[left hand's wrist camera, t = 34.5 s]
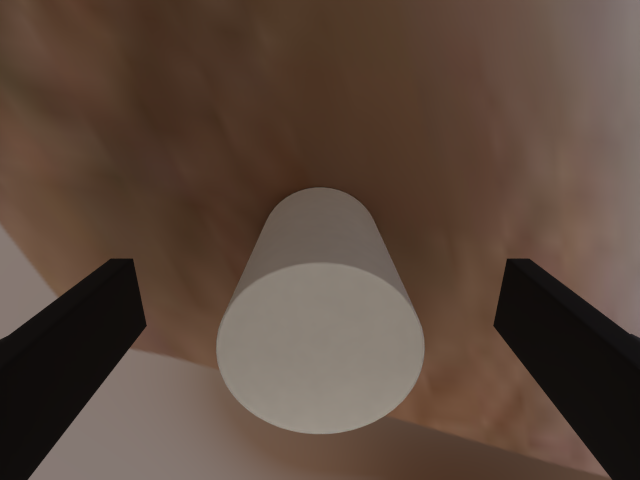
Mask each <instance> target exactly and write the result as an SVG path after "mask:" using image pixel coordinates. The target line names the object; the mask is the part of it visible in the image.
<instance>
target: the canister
mask: <svg viewBox="0 0 640 480" xmlns="http://www.w3.org/2000/svg"><path fill="white" fill-rule="evenodd" d="M424 351H425V346H424V335H423V331H422V327H421V324H420V321H419V319H418V316H417V314H416V312H415V310H414V307H413V305H412V303H411V301H410V299H409V296H408V294H407V292H406V290H405V288H404V285H403V283H402V281H401V279H400V277H399V274H398V272H397V270H396V268H395V266H394V264H393V261H392V259H391V257H390V255H389V253H388V250H387V248H386V246H385V244H384V242H383V239H382V237H381V235H380V233H379V231H378V228H377V226H376V224H375V222H374V220H373V218H372V216H371V214H370V213H369V211H368V210H367V209H366V208H365V206H364V205H363V204H362V203H361V202H359V201H358V200H357V199H355V198H354V197H352V196H351V195H349V194H347V193H345V192H342V191H340V190H336V189H332V188H325V187H315V188H308V189H304V190H301V191H298V192H296V193H293V194H291V195H290V196H288V197H286V198H285V199H284V200H282V201H281V202H280V203H279V204H278V205H277V206H276V207H275V208H274V209H273V211H272V212H271V213H270V215H269V217H268V219H267V220H266V223H265V225H264V227H263V229H262V231H261V234H260V236H259V238H258V240H257V242H256V245H255V247H254V249H253V251H252V254H251V256H250V258H249V260H248V262H247V265H246V267H245V269H244V271H243V273H242V276H241V278H240V280H239V282H238V285H237V287H236V289H235V291H234V293H233V296H232V298H231V300H230V302H229V304H228V307H227V309H226V311H225V313H224V316H223V318H222V321H221V323H220V326H219V329H218V334H217V340H216V354H217V362H218V366H219V369H220V372H221V375H222V377H223V379H224V382H225V384H226V386H227V387H228V389H229V390H230V392H231V393H232V394H233V396H234V397H235V398H236V399H237V400H238V401H239V403H241V404H242V405H243V406H244V407H245V408H246V409H247V410H249V411H250V412H251V413H253V414H254V415H256V416H257V417H259V418H261V419H262V420H264V421H266V422H268V423H270V424H273V425H275V426H278V427H280V428H284V429H287V430H290V431H296V432H301V433H310V434H331V433H340V432H345V431H350V430H354V429H357V428H360V427H363V426H365V425H368V424H370V423H373V422H375V421H376V420H378V419H380V418H382V417H383V416H385V415H386V414H388V413H389V412H391V411H392V410H393V409H395V408H396V407H397V406H398V405H399V404H400V403H401V402H402V401H403V400H404V399H405V397H406V396H407V395H408V394H409V393H410V391H411V390H412V388H413V386H414V385H415V383H416V381H417V379H418V377H419V374H420V372H421V368H422V364H423V360H424Z"/></svg>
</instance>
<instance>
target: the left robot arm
mask: <svg viewBox="0 0 640 480" xmlns="http://www.w3.org/2000/svg"><path fill="white" fill-rule="evenodd" d="M146 326H147V325H146V320H145V315H144V311H143V306H142V301H141V296H140V291H139V286H138V281H137V276H136V272H135V267H134V262H133V259H110V260H108V261H107V262H106V263H104V264H103V265H102V266H100V267H99V268H98V269H96V270H95V271H94V272H92V273H91V274H90V275H88V276H87V277H86V278H84V279H83V280H82V281H80V282H79V283H78V284H76V285H75V286H74V287H72V288H71V289H70V290H68V291H67V292H66V293H64V294H63V295H62V296H60V297H59V298H58V299H56V300H55V301H54V302H52V303H51V304H50V305H48V306H47V307H46V308H44V309H43V310H42V311H41V312H39V313H38V314H37V315H35V316H34V317H32V318H31V319H30V320H29V321H27V322H26V323H24V324H23V325H22V326H21V327H19V328H18V329H17V330H15V331H14V332H13V333H11V334H10V335H8V336H6V337H4V338H2V339H0V480H28V479H29V477H30V476H31V475H32V473H33V472H34V471H35V470H36V468H37V467H38V466H39V464H40V463H41V462H42V460H43V459H44V458H45V457H46V455H47V454H48V453H49V451H50V450H51V449H52V447H53V446H54V445H55V444H56V442H57V441H58V440H59V439H60V437H61V436H62V435H63V433H64V432H65V431H66V429H67V428H68V427H69V426H70V424H71V423H72V422H73V420H74V419H75V418H76V416H77V415H78V414H79V413H80V411H81V410H82V409H83V407H84V406H85V405H86V403H87V402H88V401H89V400H90V398H91V397H92V396H93V395H94V393H95V392H96V391H97V389H98V388H99V387H100V385H101V384H102V383H103V382H104V380H105V379H106V378H107V376H108V375H109V374H110V372H111V371H112V370H113V369H114V367H115V366H116V365H117V363H118V362H119V361H120V360H121V358H122V357H123V356H124V354H125V353H126V352H127V351H128V349H129V348H130V347H131V345H132V344H133V343H134V342H135V340H136V339H137V338H138V336H139V335H140V334H141V332H142V331H143V330H144V329H145V327H146ZM493 326H494V327H495V329H496V330H497V331H498V332H499V334H500V335H501V336H502V338H503V339H504V340H505V342H506V343H507V344H508V345H509V347H510V348H511V349H512V351H513V352H514V353H515V354H516V356H517V357H518V358H519V360H520V361H521V362H522V364H523V365H524V366H525V367H526V369H527V370H528V371H529V373H530V374H531V375H532V376H533V378H534V379H535V380H536V382H537V383H538V384H539V385H540V387H541V388H542V389H543V391H544V392H545V393H546V395H547V396H548V397H549V398H550V400H551V401H552V402H553V404H554V405H555V406H556V407H557V409H558V410H559V411H560V413H561V414H562V415H563V417H564V418H565V419H566V420H567V422H568V423H569V424H570V426H571V427H572V428H573V429H574V431H575V432H576V433H577V435H578V436H579V437H580V439H581V440H582V441H583V442H584V444H585V445H586V446H587V448H588V449H589V450H590V451H591V453H592V454H593V455H594V457H595V458H596V459H597V460H598V462H599V463H600V464H601V466H602V467H603V468H604V470H605V471H606V472H607V473H608V475H609V476H610V477H611V479H612V480H640V338H639V337H637V336H635V335H633V334H629V333H627V332H626V331H625V330H624V329H622V328H621V327H620V326H618V325H617V324H616V323H614V322H613V321H612V320H610V319H609V318H608V317H606V316H605V315H604V314H602V313H601V312H600V311H598V310H597V309H596V308H594V307H593V306H592V305H590V304H589V303H588V302H586V301H585V300H584V299H582V298H581V297H580V296H578V295H577V294H576V293H574V292H573V291H572V290H570V289H569V288H568V287H566V286H565V285H564V284H562V283H561V282H560V281H558V280H557V279H556V278H554V277H553V276H552V275H550V274H549V273H548V272H546V271H545V270H544V269H542V268H541V267H540V266H538V265H537V264H536V263H534V262H533V261H532V260H530V259H507V262H506V267H505V272H504V276H503V281H502V286H501V291H500V296H499V301H498V306H497V311H496V315H495V320H494V325H493Z"/></svg>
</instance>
